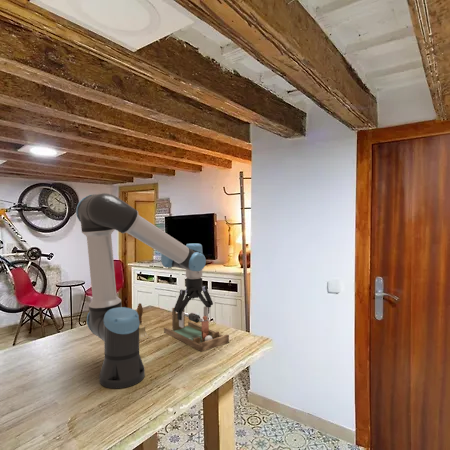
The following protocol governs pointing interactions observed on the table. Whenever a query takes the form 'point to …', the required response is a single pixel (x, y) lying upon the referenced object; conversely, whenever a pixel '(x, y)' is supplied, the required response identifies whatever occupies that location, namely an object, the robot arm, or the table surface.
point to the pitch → (194, 334)
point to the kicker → (204, 321)
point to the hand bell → (141, 327)
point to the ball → (208, 338)
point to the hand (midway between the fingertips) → (193, 323)
